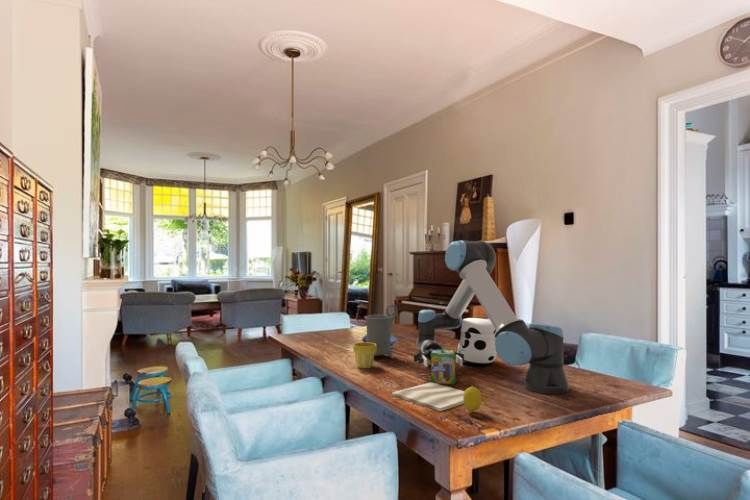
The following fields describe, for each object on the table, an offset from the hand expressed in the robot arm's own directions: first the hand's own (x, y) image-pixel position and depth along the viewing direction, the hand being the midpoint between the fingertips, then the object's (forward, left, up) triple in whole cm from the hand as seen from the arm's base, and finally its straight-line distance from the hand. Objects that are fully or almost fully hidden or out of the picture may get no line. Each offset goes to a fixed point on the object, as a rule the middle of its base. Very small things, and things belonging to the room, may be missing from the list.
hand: (444, 362), depth 174 cm
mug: (+51, -13, -8) cm, 53 cm away
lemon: (-27, +18, -8) cm, 34 cm away
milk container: (+13, -37, -7) cm, 40 cm away
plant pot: (+41, +5, -8) cm, 42 cm away
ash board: (-9, +15, -8) cm, 19 cm away
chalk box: (+2, -2, -8) cm, 8 cm away
